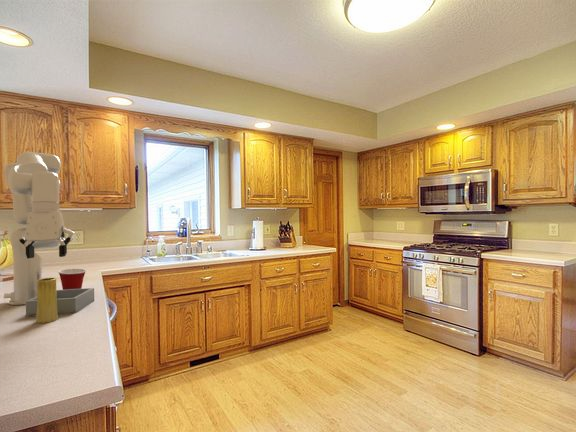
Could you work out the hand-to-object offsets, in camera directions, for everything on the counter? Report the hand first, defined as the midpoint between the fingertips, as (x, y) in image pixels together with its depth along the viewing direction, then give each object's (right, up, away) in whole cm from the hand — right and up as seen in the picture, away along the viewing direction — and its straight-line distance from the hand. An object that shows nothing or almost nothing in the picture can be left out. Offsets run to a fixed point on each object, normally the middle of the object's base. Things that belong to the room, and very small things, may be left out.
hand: (46, 257), depth 109 cm
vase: (0, -22, 0) cm, 22 cm away
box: (-5, -22, +15) cm, 27 cm away
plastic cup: (-15, -23, +35) cm, 44 cm away
